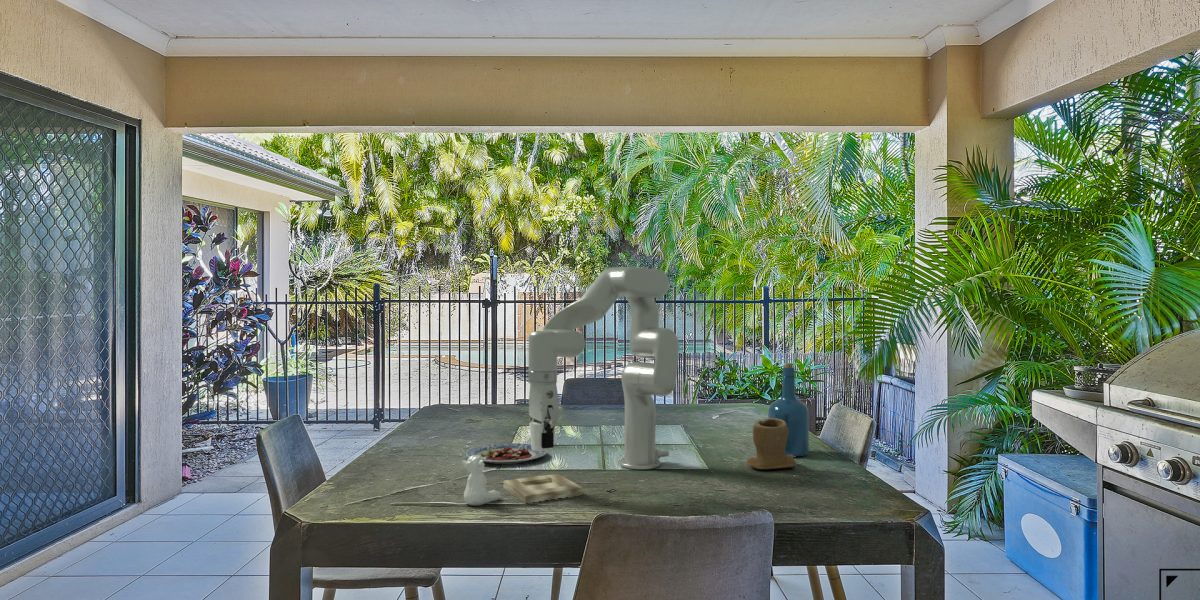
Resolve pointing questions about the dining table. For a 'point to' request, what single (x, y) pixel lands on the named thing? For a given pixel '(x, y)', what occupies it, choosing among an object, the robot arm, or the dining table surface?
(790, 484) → the dining table surface
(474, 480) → the sitting furry creature
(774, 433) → the stone cup
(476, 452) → the ceramic plate
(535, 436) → the white cup
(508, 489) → the coaster board
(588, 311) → the robot arm
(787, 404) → the wine bottle
